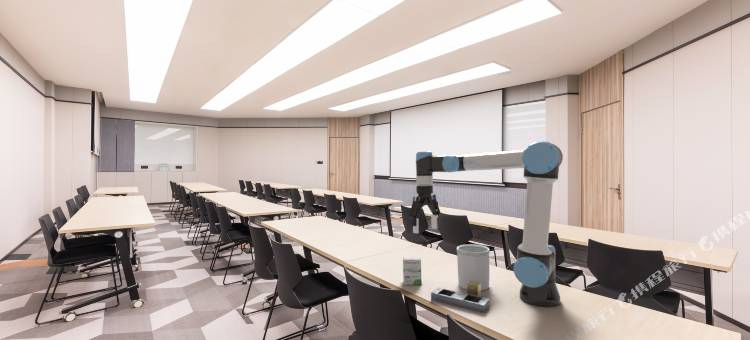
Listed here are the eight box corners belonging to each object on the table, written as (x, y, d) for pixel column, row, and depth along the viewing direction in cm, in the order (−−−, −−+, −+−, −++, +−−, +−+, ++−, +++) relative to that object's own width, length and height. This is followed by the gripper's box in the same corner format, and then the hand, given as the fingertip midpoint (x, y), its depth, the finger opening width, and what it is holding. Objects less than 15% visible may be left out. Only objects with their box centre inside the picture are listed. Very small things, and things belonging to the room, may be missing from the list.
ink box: (421, 281, 159) (421, 257, 159) (421, 285, 154) (421, 259, 154) (403, 280, 160) (402, 256, 160) (403, 284, 155) (402, 259, 155)
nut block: (481, 296, 140) (481, 282, 140) (477, 300, 136) (477, 286, 136) (471, 294, 142) (470, 280, 142) (467, 297, 139) (467, 283, 139)
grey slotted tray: (489, 306, 130) (489, 298, 130) (483, 313, 124) (483, 305, 124) (438, 294, 143) (438, 287, 143) (431, 299, 137) (431, 292, 137)
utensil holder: (454, 288, 149) (453, 250, 149) (459, 278, 163) (459, 243, 162) (488, 293, 143) (488, 253, 143) (491, 282, 157) (491, 245, 156)
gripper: (434, 183, 163) (435, 226, 163) (400, 186, 146) (401, 233, 146) (447, 183, 157) (447, 227, 158) (413, 186, 140) (414, 236, 141)
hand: (425, 230), depth 152 cm, fingers open, 13 cm apart
